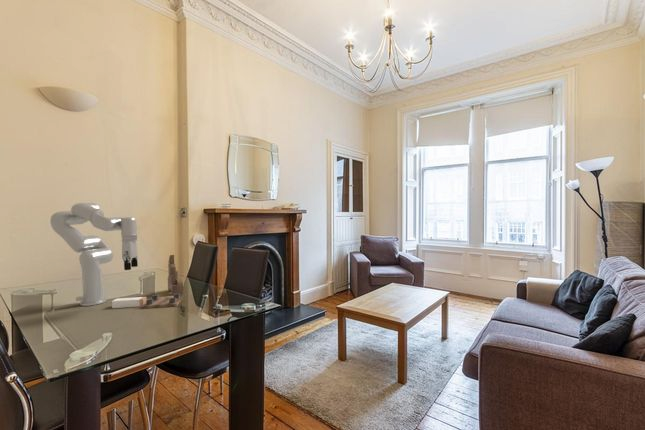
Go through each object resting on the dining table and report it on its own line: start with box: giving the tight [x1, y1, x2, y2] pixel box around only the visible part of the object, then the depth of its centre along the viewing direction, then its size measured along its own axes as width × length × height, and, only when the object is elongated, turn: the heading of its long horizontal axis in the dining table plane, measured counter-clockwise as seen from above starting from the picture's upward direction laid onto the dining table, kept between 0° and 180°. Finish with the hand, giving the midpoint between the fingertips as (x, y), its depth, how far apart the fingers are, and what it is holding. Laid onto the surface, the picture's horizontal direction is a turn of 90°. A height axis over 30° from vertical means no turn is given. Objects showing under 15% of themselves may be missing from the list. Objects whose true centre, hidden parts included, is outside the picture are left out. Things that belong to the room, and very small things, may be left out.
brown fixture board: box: [141, 293, 184, 310], centre depth 178 cm, size 18×14×4 cm
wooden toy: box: [167, 254, 184, 296], centre depth 201 cm, size 16×7×25 cm, turn 38°
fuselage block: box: [111, 296, 147, 309], centre depth 174 cm, size 16×5×4 cm, turn 101°
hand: (131, 268), depth 175 cm, fingers open, 9 cm apart
